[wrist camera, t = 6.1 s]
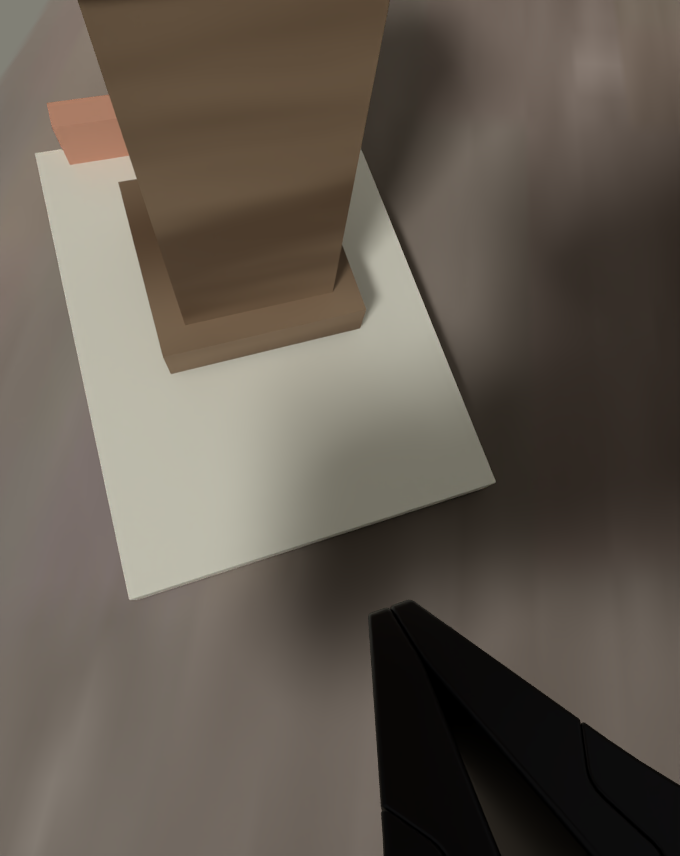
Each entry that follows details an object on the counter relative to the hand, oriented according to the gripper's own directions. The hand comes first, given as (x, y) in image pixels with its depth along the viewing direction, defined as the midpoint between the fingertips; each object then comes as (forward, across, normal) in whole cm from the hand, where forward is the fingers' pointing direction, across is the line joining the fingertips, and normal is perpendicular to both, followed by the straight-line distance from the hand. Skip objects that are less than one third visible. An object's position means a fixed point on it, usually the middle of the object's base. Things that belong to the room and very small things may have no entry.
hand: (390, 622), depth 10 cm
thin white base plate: (+11, 0, -3) cm, 12 cm away
